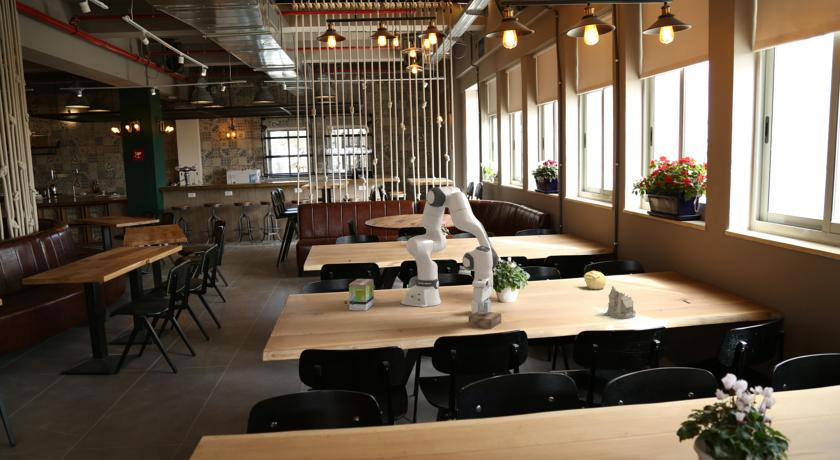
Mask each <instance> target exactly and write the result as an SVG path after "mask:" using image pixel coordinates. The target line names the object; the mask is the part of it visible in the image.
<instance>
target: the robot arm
mask: <svg viewBox="0 0 840 460" xmlns="http://www.w3.org/2000/svg"><path fill="white" fill-rule="evenodd" d="M446 208H448V210H449V214H450V219H451V223H452V224H453V226H454V227H455V228H457V229H458V230H460V231H463V232H468V233H469V234H472V235H473V236H475V237H476V239H477V242H478V244H479V246H477V247H475V249H473V250H471V251H468V252H466V253H464V254H463V257H462V265H463V266H462V267H463V268H465V270H466V271H470V272H474V279H473V281H472V287H473V289H472V290H473V300H474V301H475V303H479V305H480V309H481V310H483V309H484V301H485V300H490V297H491V296H492V295H493V294H494V286H493V285H494V273H493V270H494V269H495V268H496V267H497V265H498V263H499V256H498V253H497V252H496V251H495V249H494V247H493V245H492V242H491V240H490V238H489V236H488V234H487V232H486V230H485V228H484V225H483V223H482V222H481V221H480V220H478V219H477V218H476V216H475V215H474V213H473V210H472V207H471V205H470V201H469V200H468V197H467V192H466V190H465V188H463V187H461V186H450V185H448V186H447V185H446V186H435V187H431V188H429V189H428V191H427V193H426V201H425V204H424V209H423V213H422V218H421V225H422V227H423V228H424V229H426V230H425V231H426V233H425V234H421V235H414V236H413V237H411V238H409V239H408V240H407V242H406V250H407V252H408V254H409V255H410V256H412V257H413V259H414V260H415V263H416V267H417V278H415V279H414V281H413V282H414V284H415V285H413V286H412V287H410V288H409V290H407V291H406V293H405V295H404V296H405V297H404V298H403V299H402V300H401V303H400V304H401V305H406V306H411V307H420V308H425V307H431V306H432V307H433V306H437V305H441V304H442V301H441V296H440V293H439V290H440V289H439V286H440V281H439V276H438V275H439V274H438V264H437V263H436V262H435V261H434V260H432V258H431V254H437V253H440V252H442V251H444V250H445V249H446V248H447V245H448V239H447V238H446V236H445V235H444V234H443V231H442V230H443V229H442V225H443V219H444V215H445V211H446Z"/></svg>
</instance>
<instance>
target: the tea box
mask: <svg viewBox="0 0 840 460" xmlns="http://www.w3.org/2000/svg"><path fill="white" fill-rule="evenodd" d="M374 289H375V288H374V279H373V278H356V279H354V281H352V282H350V283H349V284H348V290H349V291H348V293H349V294H348V295H349V297H348V298H349V300H348V301H349V310H350V311H365V312H366V311H367V310H369V309H370V308H371V307H372V306H373V305H374V304H375V299H374V298H375V293H374V292H375V291H374Z"/></svg>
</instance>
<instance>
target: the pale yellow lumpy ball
mask: <svg viewBox="0 0 840 460" xmlns="http://www.w3.org/2000/svg"><path fill="white" fill-rule="evenodd" d="M583 278H584V279H583V280H584V283H585V284H586V287H587V288H588V289H591V290H601V289H603V288H605V286H606V283H607V279H606V276H605V275H604V274H603V273H602V272H601V271H598V270H597V271H596V270H591V271H588V272H586V273H585V274H584V275H583Z"/></svg>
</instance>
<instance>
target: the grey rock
mask: <svg viewBox="0 0 840 460" xmlns="http://www.w3.org/2000/svg"><path fill="white" fill-rule="evenodd" d="M608 301H609V302H608V306H607V307H608V308H607V310H606V314H607V315H608V316H611V317H614V318H617V319H621V320H630V319H634V318H635V317H636V313H637V312H636V310H635V309H634V300H633V299H632V297H631V296H629V295H628V294H627V295H625V292H624V293H623V292H621V291H619V290H617V289H616V288H615V286H614V285H611V289H610V292H609V294H608Z"/></svg>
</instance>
